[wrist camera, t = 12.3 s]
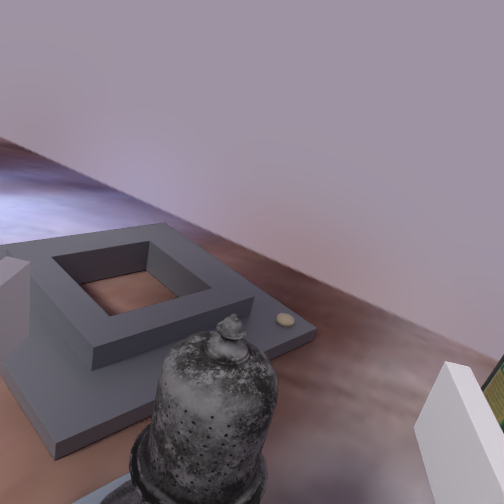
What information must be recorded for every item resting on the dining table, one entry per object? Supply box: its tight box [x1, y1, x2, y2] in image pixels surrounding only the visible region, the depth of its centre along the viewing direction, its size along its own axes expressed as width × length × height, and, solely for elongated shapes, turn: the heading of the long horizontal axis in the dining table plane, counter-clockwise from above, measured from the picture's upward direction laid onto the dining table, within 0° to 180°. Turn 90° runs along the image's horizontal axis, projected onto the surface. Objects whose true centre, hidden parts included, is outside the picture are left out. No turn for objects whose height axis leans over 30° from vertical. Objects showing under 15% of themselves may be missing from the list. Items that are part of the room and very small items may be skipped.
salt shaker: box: [99, 314, 278, 504], centre depth 13 cm, size 6×6×12 cm
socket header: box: [0, 223, 317, 460], centre depth 31 cm, size 18×18×2 cm
